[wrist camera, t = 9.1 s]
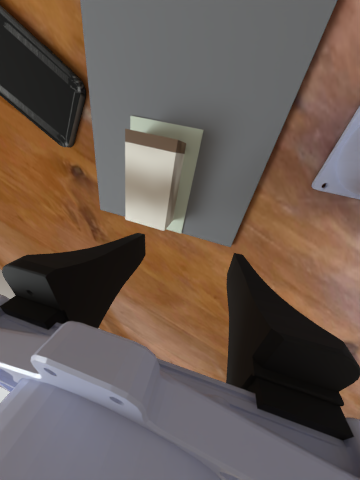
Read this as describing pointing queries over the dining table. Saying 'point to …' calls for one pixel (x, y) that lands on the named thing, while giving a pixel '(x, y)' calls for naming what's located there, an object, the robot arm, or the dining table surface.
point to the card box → (152, 178)
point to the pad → (189, 163)
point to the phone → (39, 82)
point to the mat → (199, 90)
